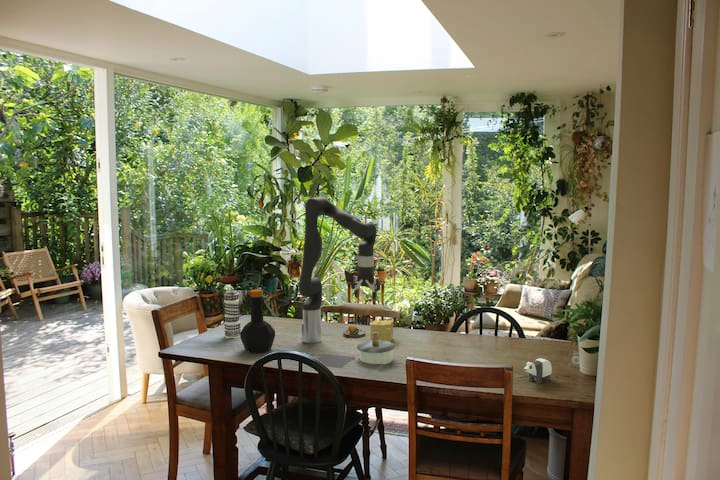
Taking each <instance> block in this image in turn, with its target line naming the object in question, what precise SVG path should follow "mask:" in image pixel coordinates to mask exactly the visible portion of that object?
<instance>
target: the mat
mask: <svg viewBox="0 0 720 480" xmlns="http://www.w3.org/2000/svg"><path fill="white" fill-rule="evenodd" d="M355 358H356V357H355V356H351V355H349V356H347V355H340V354H330V353H323V354H322V355H320V356H318V357H317V358H316V359H318V360H319V361H321V362H322V363H323V364H324V365H326V366H325V367H329V368H330V367H332V368H339V369H342V368H344V367H345V366H346V365H348V364H349V363H350V362H351V361H353V360H354V359H355Z"/></svg>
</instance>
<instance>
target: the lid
mask: <svg viewBox="0 0 720 480" xmlns="http://www.w3.org/2000/svg"><path fill="white" fill-rule="evenodd" d="M356 348H357V350H358V351H359V352H360V351H363V352H368V353H382V352H388V351H391V350H392V351H393V350H394V348H395V344H394V343H393V342H392V341H391V342H389V341H384V340H379V332H372V340H371V339H370V340H369V339H368V340H363V341H361V342H358V344H357V346H356Z"/></svg>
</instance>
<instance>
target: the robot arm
mask: <svg viewBox="0 0 720 480" xmlns="http://www.w3.org/2000/svg"><path fill="white" fill-rule="evenodd" d="M304 207H305V209H304V211H305V213H304V214H305V215H304V217H305V218H304V219H305V222H304V223H305V224H304V225H305V229H304V241H303V250H302V251H303V252H302V253H303V254H302V255H303V256H302V265H301V271H300V276H299V282H298V291H299V292H298V293H299V294H300V295H301V296H302V297H303V298H307V299H306V301H304V302H303V303H302V323H301V342H303V343H306V344H312V343H313V344H317V343H321V342H322V317H321V316H322V315H321V314H322V311H321V310H322V309H321V306H322V302H323V300H322V299H323V285H322V281H321V280H320V278H319V277H316V276H315V277H313V271H314V269H315V267H316V266H317V264H318V262H319V261H320V258H321V256H322V251H323V250H322V249H323V239H322V237H321V234H320V231H319V227H318V220H319V217H320V216H321V217H322V216H326V217H329V218H331V219H333V220H334V221H335V222H336V223H337V224H338V225H339V226H340V227H342V228H344V229H346V230H348V231H350V232H351V233H352V234H353V235H354V236H356V237H357V238H360V239H363V240H362V242H360V243H359V245H358V256H357V258H358V259H357V276H356V275H355V274H354V275H353V276H351V281H350V282H351V283H350V288H351V289H352V290H354V297H355V298H356V299H358V298H359V297H360V289H359V288H361V287H366V288H367V287H369V288H370V289H371V291H372V294H371V295H372V297H371V298H372V301H373V300H376V299H377V292H378V291H379V292H380V291H381V289H382V288H381V287H382V286H381V278H380V277H377V278H375V277H374V276H375V273H374V272H375V271H374V270H375V269H374V268H375V260H374V246H375V244H376V243H375V242H376V238H377V234H378V233H377V232H378V230H377V227H376V225H375V223H373V222H365V223H364V222H361V221H360V219H359V218H358V217H356V216H354V215H352V214H351V213H348V212H346V211H345V210H342V209H341V208H339V207H337V206H336V205H335V204H333V203H332V202H331V201H330V200H328V199H327V198H325V197H323V196H321V197H320V196H318V197H310V198H308V199H307V201H306V204H305V206H304ZM357 281H358V283H356V282H357ZM374 282H375V283H374Z"/></svg>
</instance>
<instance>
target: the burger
mask: <svg viewBox="0 0 720 480" xmlns="http://www.w3.org/2000/svg"><path fill="white" fill-rule="evenodd" d="M365 334H366V331H365V330H363V329H359V328H357V326H356V325H355V324H349V326H348V328H347V330H344V331H343V332H342V336H343V337H345V338H347V339H348V338H349V339H358V338H359V339H360V338H363V337H364V335H365Z"/></svg>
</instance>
